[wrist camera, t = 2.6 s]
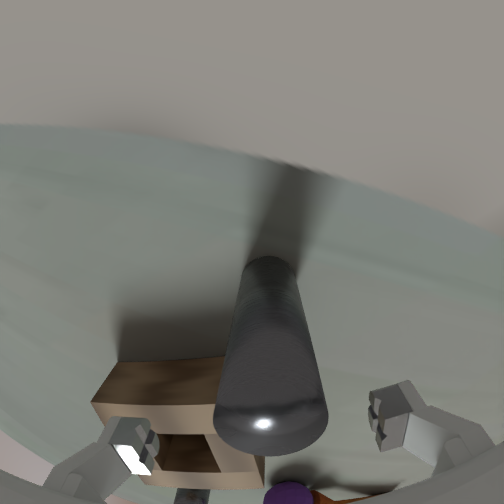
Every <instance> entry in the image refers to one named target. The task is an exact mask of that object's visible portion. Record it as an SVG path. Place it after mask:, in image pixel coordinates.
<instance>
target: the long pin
mask: <svg viewBox="0 0 504 504" xmlns="http://www.w3.org/2000/svg"><path fill="white" fill-rule="evenodd" d="M327 424H328V410H327V405H326V401H325V397H324V392H323V388H322V383H321V379H320V375H319V371H318V366H317V362H316V358H315V354H314V350H313V346H312V342H311V337H310V333H309V329H308V325H307V321H306V317H305V313H304V310H303V306H302V302H301V298H300V294H299V290H298V286H297V282H296V279H295V275H294V272H293V270H292V268H291V267H290V266H289V264H288V263H286V262H285V261H284V260H282V259H280V258H278V257H274V256H263V257H259V258H257V259H255V260H253V261H252V262H250V263H249V264H248V265H247V266H246V268H245V269H244V271H243V274H242V277H241V282H240V287H239V292H238V296H237V301H236V306H235V311H234V316H233V320H232V325H231V330H230V335H229V340H228V345H227V349H226V354H225V359H224V364H223V369H222V374H221V379H220V383H219V388H218V393H217V398H216V403H215V408H214V413H213V425H214V428H215V430H216V432H217V434H218V435H219V437H220V438H221V439H222V440H223V441H224V442H225V443H227V444H228V445H230V446H231V447H233V448H235V449H237V450H239V451H242V452H244V453H248V454H252V455H257V456H281V455H286V454H291V453H294V452H297V451H300V450H302V449H304V448H306V447H308V446H309V445H311V444H312V443H314V442H315V441H316V440H317V439H318V438H319V437H320V436H321V435H322V434H323V432H324V431H325V429H326V427H327Z"/></svg>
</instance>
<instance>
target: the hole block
mask: <svg viewBox="0 0 504 504" xmlns="http://www.w3.org/2000/svg"><path fill="white" fill-rule="evenodd" d="M224 359H225V356H222V357H211V358H199V359H185V360H169V361H149V362H117V364H116V365H115V366H114V368H113V369H112V371H111V372H110V374H109V375H108V377H107V378H106V380H105V381H104V382H103V384H102V385H101V387H100V388H99V390H98V391H97V393H96V394H95V396H94V397H93V399H92V400H91V404H92V406H93V408H94V409H95V411H96V413H97V414H98V416H99V418H100V420H101V421H102V423H103V424H104V426H106V424H107V423H108V421H109V419H110V418H111V417H112V416H119V417H138V418H147V419H148V420H149V421H150V423H151V427H150V429H151V430H153V431H154V432H156V434H157V436H158V439H159V451H158V454H157V455H156V456H155V457H154V458H153V460H154V462H155V464H154V467H153V470H152V473H151V475H145V474H138V476H139V477H140V478H141V480H142V481H143V482H144V484H146V485H154V486H163V487H174V488H188V489H220V490H226V489H259V488H264V473H265V456H257V455H252V454H248V453H244V452H242V451H239V450H237V449H235V448H233V447H231V446H230V445H228V444H227V443H225V442H224V441H223V440H222V439H221V438H220V437H219V435H218V434H217V432H216V430H215V428H214V425H213V413H214V408H215V403H216V398H217V393H218V388H219V383H220V379H221V374H222V369H223V364H224Z"/></svg>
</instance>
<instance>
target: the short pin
mask: <svg viewBox="0 0 504 504" xmlns="http://www.w3.org/2000/svg"><path fill="white" fill-rule="evenodd" d="M209 494H210V489H188V488H178V489H177V493H176V496H175V500H174V504H208V501H209Z"/></svg>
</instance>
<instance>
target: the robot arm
mask: <svg viewBox="0 0 504 504" xmlns="http://www.w3.org/2000/svg"><path fill="white" fill-rule="evenodd" d="M369 401H370V403H371V405H370V406H369V408H368V417H369V423H370V427H371V429H372V431H373V432H375V433H376V439H375V440H376V442H377V445H378V447H379V450H380V452H383V451H387V450H390V449H394V448H397V447H401V446H403V448H405V449H406V450H408V451H409V452H411V453H413V454H414V455H416V456H417V457H419V458H420V459H422V460H423V461H425V462H426V463H428V464H430V465H431V466H433V467H434V468H435V469H434V471H433V473H432V476H431V477H430V478H428V479H425V480H423V481H420V482H417V483H415V484H412V485H409V486H406V487H403V488H401V489H398V490H394V491H391V492H388V493H385V494H381V495H378V496H375V497H371V498H367V499H363V500H359V501H355V502H351V503H347V504H504V441H503V442H501V443H500V444H498V445H496V446H495V444H494V443H493V441H492V440H491V439H490V437H489V436H488V434H487V433H486V432H485V430H484V429H483V427H482V426H481V425H480V424H477V423H474V422H472V421H469V420H466V419H464V418H461V417H459V416H456V415H453V414H451V413H448V412H446V411H443V410H441V409H438V408H436V407H433V406H428V407H427V405H426V404H425V402H424V401H423V399H422V398H421V396H420V395H419V393H418V392H417V390H416V389H415V387H414V386H413V384H412V383H411V381H409V380H406V381H403V382H400V383H397V384H394V385H391V386H387V387H384V388H380V389H376V390H373V391H370V393H369ZM150 427H151V423H150V421H149V420H148V419H147V418H138V417H119V416H112V417H111V418H110V419H109V421H108V423H107V424H106V426H105V428H104V430H103V432H102V434H101V436H100V437H99V439H98V441H97V443H95V442H93V443H92V444H90V445H89V446H87V447H86V448H84V449H82V450H81V451H79V452H78V453H76V454H74V455H73V456H71V457H69V458H68V459H66V460H65V461H63V462H61V463H60V464H58V465H56V466H55V467H53V469H52V471H51V472H50V474H49V476H48V478H47V479H46V481H45V483H44V484H43V486H39V485H36V484H34V483H31V482H29V481H26V480H24V479H21V478H19V477H16V476H14V475H12V474H9V473H7V472H5V471H3V470H1V469H0V504H107V503H106V502H105V501H104V500H105V499H106V498H107V497H108V496H109V495H110V494H112V493H113V492H114V491H115V490H116V489H117V488H118V487H119V486H120V485H121V484H122V483H123V482H125V481H126V480H127V479H128V478H129V477H130V476H131V475H132V474H131V473H133V474H145V475H151V473H152V470H153V467H154V464H155V462H154V460H153V458H154V457H155V456H156V455H157V454H158V451H159V439H158V436H157V434H156V432H154V431H153V430H151V429H150Z"/></svg>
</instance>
